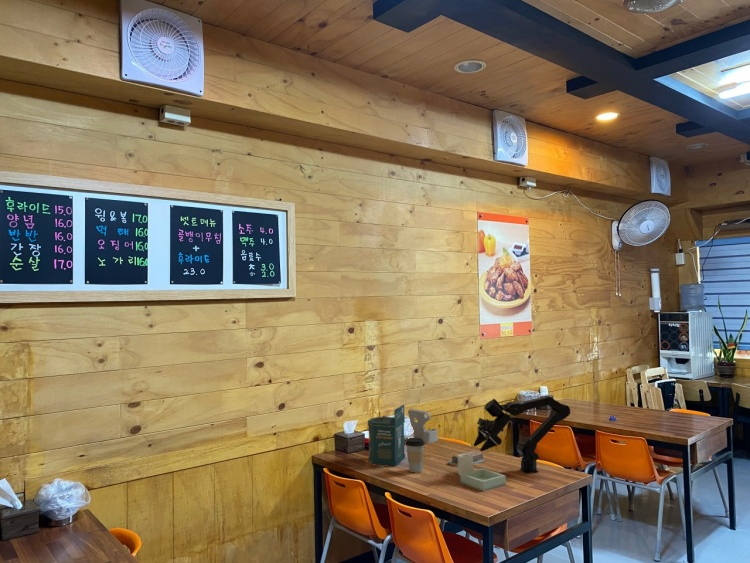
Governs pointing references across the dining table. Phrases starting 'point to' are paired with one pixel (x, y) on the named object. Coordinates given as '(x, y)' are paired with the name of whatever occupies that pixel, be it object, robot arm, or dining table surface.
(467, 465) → the beige hollow square block
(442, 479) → the dining table surface
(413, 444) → the coffee cup
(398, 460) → the donation box
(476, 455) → the packaged product
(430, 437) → the phone holder
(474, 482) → the green square tray
